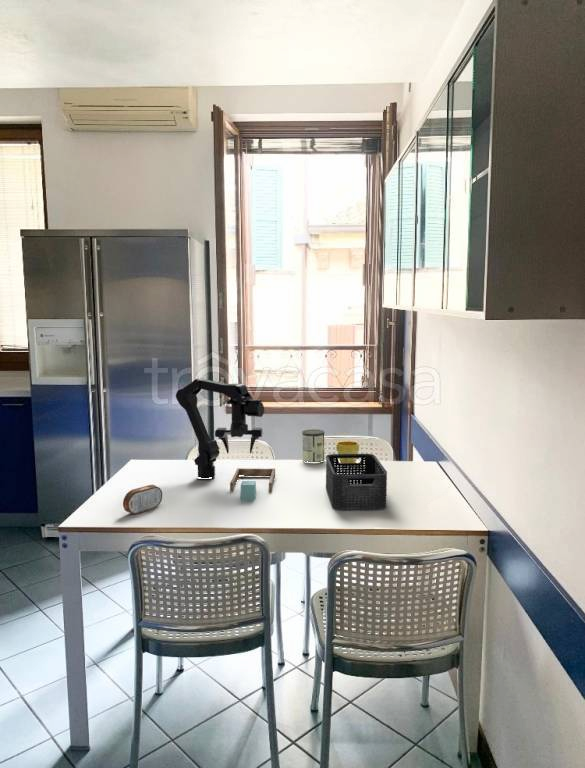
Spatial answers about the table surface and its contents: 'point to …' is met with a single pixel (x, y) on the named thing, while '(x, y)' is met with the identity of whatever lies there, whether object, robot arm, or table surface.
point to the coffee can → (313, 445)
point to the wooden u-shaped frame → (253, 473)
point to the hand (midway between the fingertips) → (239, 453)
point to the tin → (142, 499)
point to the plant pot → (347, 450)
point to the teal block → (248, 490)
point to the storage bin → (356, 483)
